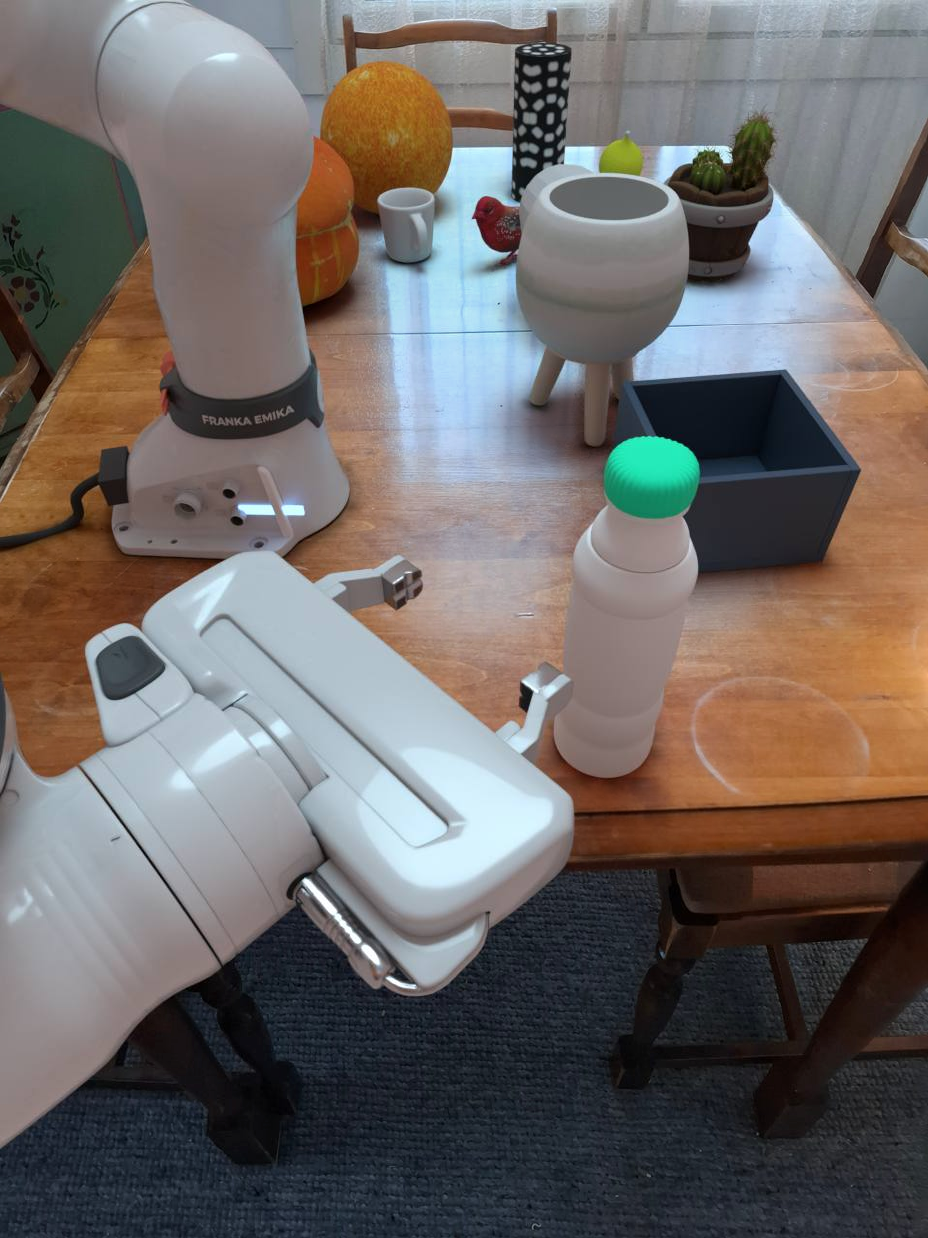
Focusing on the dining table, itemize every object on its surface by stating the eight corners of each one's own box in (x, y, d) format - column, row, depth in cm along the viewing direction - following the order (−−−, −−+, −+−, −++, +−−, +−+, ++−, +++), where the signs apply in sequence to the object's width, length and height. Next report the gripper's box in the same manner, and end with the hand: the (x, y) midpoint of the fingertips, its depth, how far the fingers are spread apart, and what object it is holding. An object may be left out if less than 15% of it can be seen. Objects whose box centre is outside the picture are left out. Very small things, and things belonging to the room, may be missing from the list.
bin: (650, 577, 70) (670, 485, 62) (609, 470, 80) (621, 381, 73) (822, 561, 71) (861, 469, 63) (759, 458, 81) (786, 368, 74)
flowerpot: (644, 287, 108) (669, 118, 93) (653, 241, 118) (677, 83, 103) (755, 297, 106) (799, 125, 91) (754, 249, 116) (794, 88, 101)
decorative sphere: (339, 188, 135) (322, 46, 121) (457, 188, 135) (454, 44, 120) (320, 236, 122) (298, 82, 107) (451, 235, 121) (447, 80, 106)
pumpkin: (251, 356, 97) (210, 178, 83) (170, 293, 109) (122, 128, 95) (402, 298, 107) (390, 130, 92) (312, 246, 119) (289, 90, 104)
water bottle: (647, 790, 55) (728, 508, 37) (546, 773, 56) (577, 491, 38) (652, 709, 60) (726, 423, 42) (558, 695, 61) (591, 411, 43)
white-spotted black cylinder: (504, 189, 134) (507, 45, 119) (550, 183, 135) (558, 40, 121) (521, 207, 128) (526, 58, 114) (569, 200, 130) (580, 53, 115)
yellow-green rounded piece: (620, 199, 130) (628, 129, 123) (588, 187, 134) (594, 119, 126) (648, 187, 133) (658, 119, 126) (615, 177, 137) (623, 110, 129)
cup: (452, 269, 113) (450, 209, 107) (398, 279, 111) (393, 219, 105) (426, 241, 120) (423, 183, 114) (375, 250, 118) (369, 192, 112)
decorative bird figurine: (465, 274, 112) (463, 198, 105) (553, 238, 120) (557, 165, 112) (479, 280, 110) (478, 204, 103) (567, 244, 118) (572, 170, 111)
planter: (489, 393, 91) (490, 179, 74) (615, 365, 94) (643, 156, 78) (549, 472, 80) (566, 245, 64) (688, 438, 84) (738, 214, 68)
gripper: (395, 994, 22) (685, 712, 29) (67, 617, 32) (336, 472, 39) (409, 1057, 27) (656, 802, 33) (118, 710, 37) (351, 566, 44)
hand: (481, 622), depth 36 cm, fingers open, 8 cm apart
